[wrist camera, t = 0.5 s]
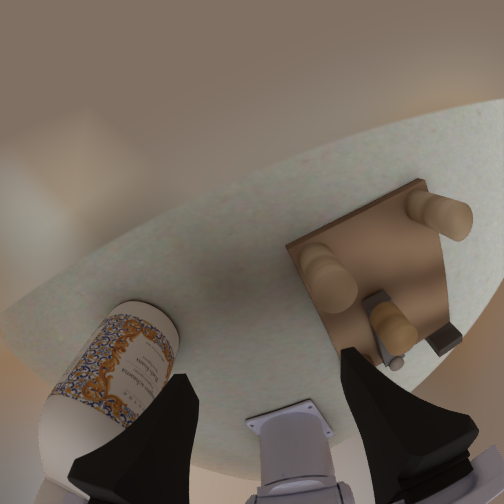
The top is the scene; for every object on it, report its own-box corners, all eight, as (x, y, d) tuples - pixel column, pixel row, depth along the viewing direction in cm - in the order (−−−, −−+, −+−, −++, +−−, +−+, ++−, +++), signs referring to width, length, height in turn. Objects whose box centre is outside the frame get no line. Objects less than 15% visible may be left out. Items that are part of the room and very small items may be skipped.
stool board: (445, 323, 22) (477, 358, 16) (349, 378, 24) (366, 425, 18) (417, 178, 18) (471, 190, 12) (285, 245, 20) (300, 284, 13)
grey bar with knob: (400, 349, 22) (423, 385, 17) (378, 361, 22) (398, 399, 17) (385, 286, 19) (416, 320, 14) (359, 300, 20) (384, 338, 15)
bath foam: (196, 346, 23) (146, 573, 4) (142, 368, 24) (77, 543, 5) (147, 285, 21) (12, 518, 2) (97, 315, 22) (-16, 486, 3)
